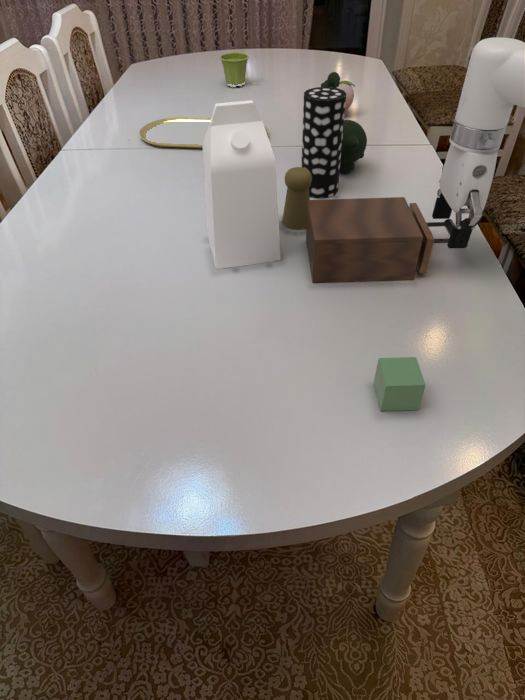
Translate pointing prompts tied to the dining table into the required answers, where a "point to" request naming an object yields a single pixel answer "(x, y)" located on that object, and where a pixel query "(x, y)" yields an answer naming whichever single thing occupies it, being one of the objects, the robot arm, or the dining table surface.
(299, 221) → the olive pawn
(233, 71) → the plant pot
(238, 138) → the milk
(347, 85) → the decorative fruit
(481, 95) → the robot arm
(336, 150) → the spotted tube
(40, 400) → the dining table surface
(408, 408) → the block
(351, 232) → the cabinet
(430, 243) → the drawer
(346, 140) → the toy figurine
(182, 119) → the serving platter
